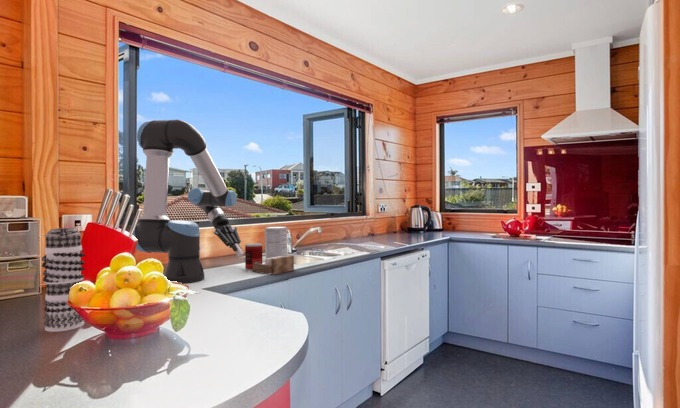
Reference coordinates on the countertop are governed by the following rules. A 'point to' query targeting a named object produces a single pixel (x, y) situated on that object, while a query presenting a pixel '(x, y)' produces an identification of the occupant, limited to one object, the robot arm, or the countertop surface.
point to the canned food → (253, 254)
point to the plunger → (268, 260)
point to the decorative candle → (62, 277)
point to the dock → (276, 265)
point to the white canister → (275, 242)
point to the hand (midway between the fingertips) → (241, 255)
